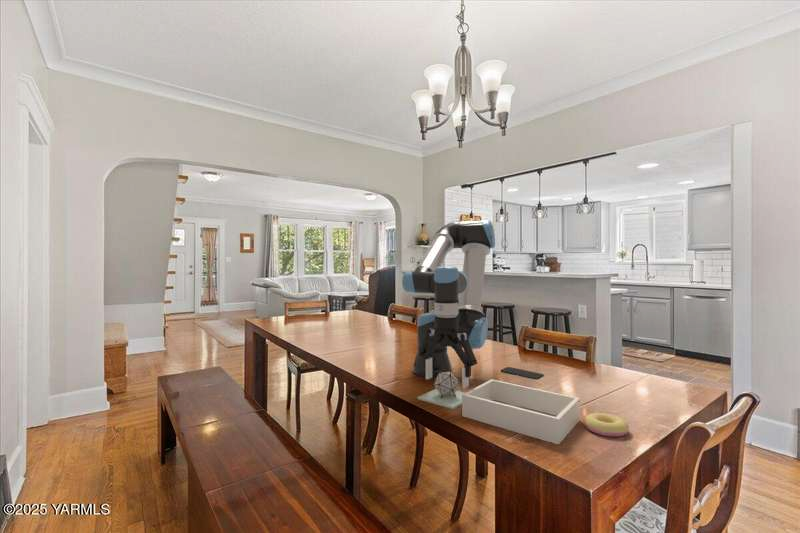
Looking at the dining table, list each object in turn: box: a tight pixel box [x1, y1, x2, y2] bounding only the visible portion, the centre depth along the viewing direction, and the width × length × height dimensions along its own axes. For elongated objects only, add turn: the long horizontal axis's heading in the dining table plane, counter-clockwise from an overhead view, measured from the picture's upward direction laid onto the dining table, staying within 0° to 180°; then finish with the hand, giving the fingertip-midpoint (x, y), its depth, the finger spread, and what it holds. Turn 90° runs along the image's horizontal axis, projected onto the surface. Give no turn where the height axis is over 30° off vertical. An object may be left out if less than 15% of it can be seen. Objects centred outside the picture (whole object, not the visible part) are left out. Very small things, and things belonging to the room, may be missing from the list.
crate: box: [461, 378, 581, 445], centre depth 104 cm, size 26×18×6 cm
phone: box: [500, 366, 545, 380], centre depth 146 cm, size 7×1×15 cm
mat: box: [417, 388, 465, 410], centre depth 120 cm, size 13×13×1 cm
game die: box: [430, 369, 462, 399], centre depth 120 cm, size 9×8×10 cm
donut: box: [583, 412, 630, 438], centre depth 97 cm, size 10×5×9 cm
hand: (446, 382), depth 120 cm, fingers open, 13 cm apart
